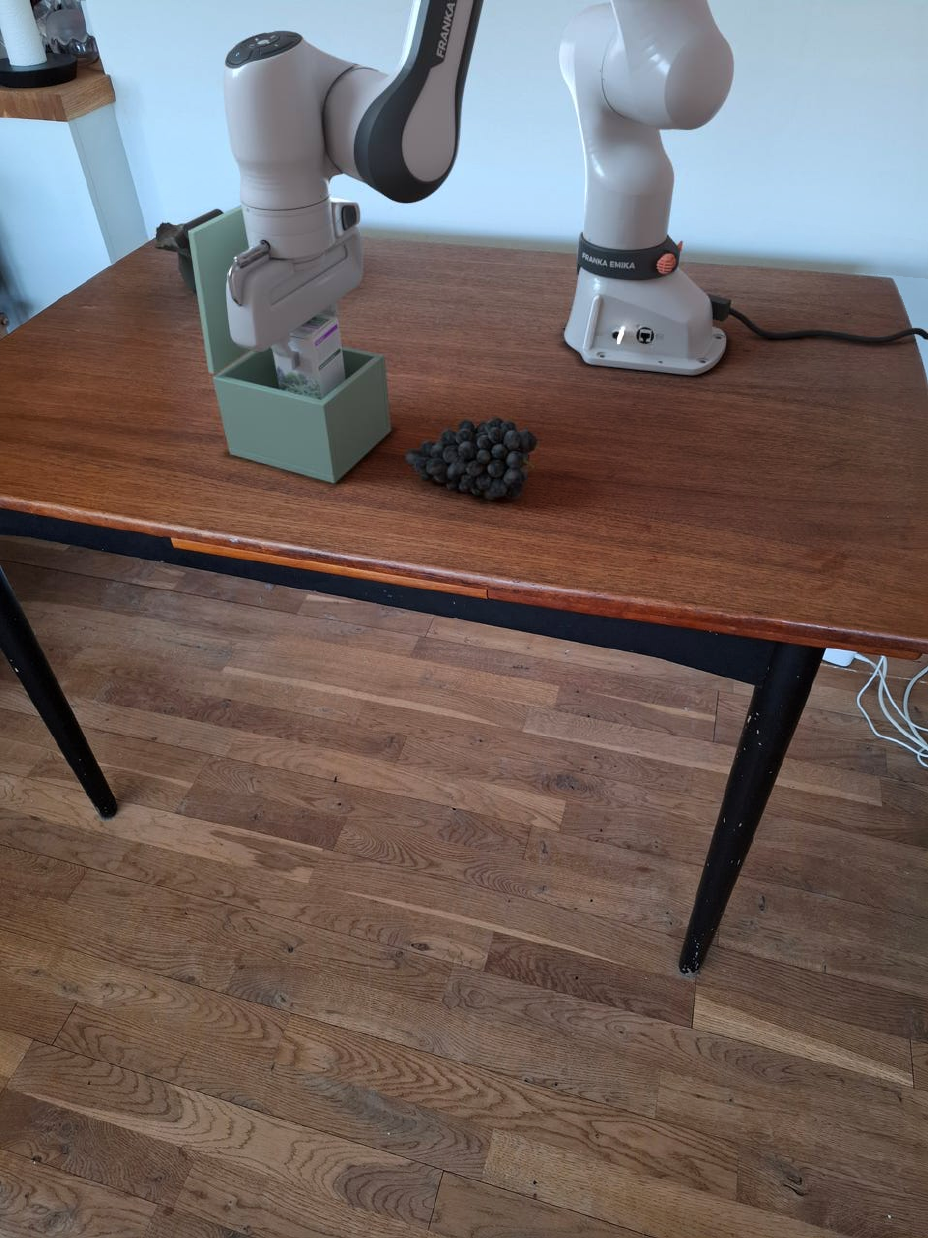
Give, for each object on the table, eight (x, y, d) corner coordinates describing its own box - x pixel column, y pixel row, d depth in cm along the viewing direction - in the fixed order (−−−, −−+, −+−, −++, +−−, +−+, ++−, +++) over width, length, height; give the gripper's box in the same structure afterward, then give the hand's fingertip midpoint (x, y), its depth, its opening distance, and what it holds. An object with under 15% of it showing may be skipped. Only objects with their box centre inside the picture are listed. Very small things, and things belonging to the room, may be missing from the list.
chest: (391, 430, 109) (385, 354, 102) (334, 483, 100) (323, 405, 94) (291, 405, 114) (279, 331, 107) (229, 454, 105) (212, 377, 99)
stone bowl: (147, 310, 136) (131, 247, 130) (193, 261, 155) (181, 204, 150) (307, 307, 135) (298, 243, 129) (333, 258, 154) (326, 201, 149)
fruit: (393, 413, 94) (531, 431, 90) (420, 401, 101) (549, 416, 97) (391, 493, 97) (524, 513, 93) (417, 475, 104) (542, 493, 101)
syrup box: (354, 430, 107) (340, 314, 97) (329, 455, 103) (311, 336, 93) (314, 420, 109) (296, 306, 99) (287, 444, 105) (266, 328, 95)
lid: (270, 194, 96) (232, 183, 97) (194, 232, 87) (153, 220, 89) (281, 329, 107) (247, 317, 108) (214, 374, 98) (178, 361, 100)
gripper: (253, 266, 82) (277, 402, 91) (368, 200, 95) (379, 324, 104) (198, 256, 84) (227, 390, 93) (319, 192, 97) (333, 315, 106)
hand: (308, 354), depth 99 cm, fingers closed on syrup box, 6 cm apart
